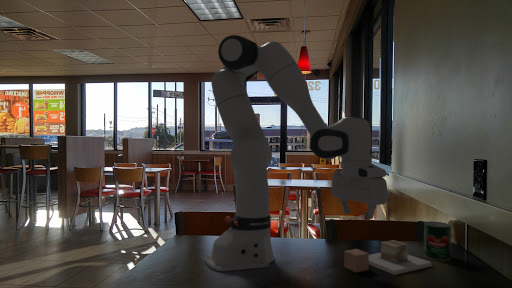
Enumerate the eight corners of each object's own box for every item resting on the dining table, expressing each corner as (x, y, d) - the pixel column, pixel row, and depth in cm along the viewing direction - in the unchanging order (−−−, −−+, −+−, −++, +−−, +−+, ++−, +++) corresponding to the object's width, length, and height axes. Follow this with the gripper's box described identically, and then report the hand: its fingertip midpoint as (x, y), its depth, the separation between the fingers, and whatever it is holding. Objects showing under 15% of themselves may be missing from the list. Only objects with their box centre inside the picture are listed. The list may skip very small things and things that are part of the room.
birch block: (395, 263, 103) (395, 246, 103) (380, 257, 108) (380, 242, 108) (407, 260, 105) (407, 244, 105) (393, 255, 110) (393, 239, 110)
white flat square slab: (394, 275, 97) (394, 270, 97) (359, 260, 109) (359, 256, 109) (431, 266, 104) (431, 262, 104) (394, 253, 116) (394, 249, 116)
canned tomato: (443, 253, 117) (442, 221, 117) (456, 261, 109) (456, 226, 109) (419, 253, 117) (419, 221, 117) (431, 260, 109) (431, 226, 109)
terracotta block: (355, 272, 99) (355, 255, 99) (344, 267, 103) (344, 250, 103) (368, 270, 101) (368, 253, 101) (356, 264, 105) (356, 248, 105)
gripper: (326, 168, 110) (327, 211, 110) (374, 172, 92) (375, 223, 92) (341, 167, 113) (342, 209, 113) (390, 171, 95) (391, 220, 95)
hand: (357, 215), depth 102 cm, fingers open, 8 cm apart
